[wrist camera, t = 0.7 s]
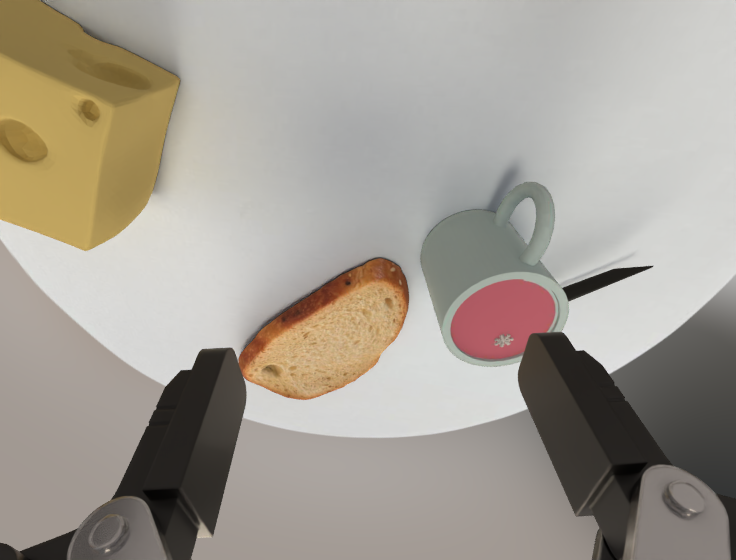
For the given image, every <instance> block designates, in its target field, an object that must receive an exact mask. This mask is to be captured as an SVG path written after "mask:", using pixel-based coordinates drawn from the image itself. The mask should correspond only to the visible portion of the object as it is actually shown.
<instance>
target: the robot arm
mask: <svg viewBox="0 0 736 560" xmlns="http://www.w3.org/2000/svg"><path fill="white" fill-rule="evenodd" d="M518 383H519V387H520V391H521V393H522V396H523V398H524V400H525V402H526V405H527V407H528V409H529V412H530V414H531V416H532V418H533V421H534V423H535V425H536V427H537V429H538V432H539V434H540V436H541V439H542V441H543V443H544V445H545V447H546V450H547V452H548V454H549V457H550V459H551V461H552V464H553V466H554V468H555V470H556V473H557V475H558V477H559V479H560V482H561V484H562V486H563V488H564V491H565V493H566V495H567V497H568V500H569V502H570V504H571V506H572V509H573V511H574V513H575V516H591V515H594V517H595V519H596V521H597V523H598V526H599V529H598V531H597V534H596V539H595V544H594V550H593V555H592V560H736V499H735V498H731V497H727V496H723V495H720V494H716V493H714V492H713V491H712V489H710V488H709V487H708V486H707V485H706V484H705V483H704V482H703V481H701V480H700V479H699V478H697V477H696V476H694V475H693V474H691V473H689V472H687V471H685V470H683V469H680V468H678V467H674V466H673V465H672V464H671V463H670V461H669V460H668V459H667V458H666V456H665V455H664V453H663V452H662V450H661V449H660V447H659V446H658V445H657V443H656V442H655V440H654V439H653V437H652V436H651V435H650V433H649V432H648V430H647V429H646V427H645V426H644V424H643V423H642V422H641V420H640V419H639V417H638V416H637V415H636V413H635V412H634V410H633V409H632V407H631V406H630V404H629V403H628V402H627V401H625V399H624V398H625V397H624V396H623V394H622V393H621V392H620V390H619V389H618V387H617V386H615V385H614V381H613V380H612V378H611V377H610V376H609V374H608V373H607V371H606V370H605V368H604V367H603V366H602V365H601V364H600V363H599V362H598V361H596V360H595V359H594V358H593V357H591V356H590V355H589V354H588V353H587V352H585V351H584V350H582V351H576V350H575V349H574V347H573V346H572V344H571V342H570V341H569V339H568V338H567V336H566V335H565V334H564V333H562V332H546V333H532V334H531V335H530V336H529V338H528V341H527V344H526V348H525V351H524V354H523V357H522V360H521V363H520V367H519V370H518ZM245 405H246V385H245V381H244V378H243V375H242V372H241V369H240V366H239V363H238V361H237V358H236V355H235V352H234V350H233V349H232V348H214V349H202V350H201V351H200V352H199V354H198V356H197V358H196V361H195V363H194V365H193V368H192V370H181V371H180V372H179V373H178V374H177V375H176V376H175V377H174V378H173V379H172V381H171V382H170V383H169V384H168V385H167V386H166V387H165V389H164V391H163V393H162V395H161V398H160V400H159V402H158V404H157V406H156V407H157V409H156V410H155V411H154V412H153V415H152V417H151V419H150V421H149V426H147V427H146V430H145V432H144V434H143V436H142V438H141V440H140V442H139V445H138V447H137V449H136V451H135V453H134V455H133V458H132V460H131V462H130V464H129V466H128V468H127V470H126V473H125V475H124V477H123V479H122V481H121V483H120V485H119V488H118V489H117V491H116V493H115V495H114V496H113V498H112V499H111V500H110V501H108V502H107V503H105V504H103V505H102V506H100V507H99V508H97V509H96V510H95V511H93V512H92V513H91V514H90V515H89V516H88V517H87V518H86V519H85V520H84V521H83V523H82V524H81V525H80V526H79V528H77V529H76V530H73V531H71V532H69V533H66V534H64V535H61V536H59V537H56V538H54V539H51V540H48V541H46V542H43V543H40V544H38V545H35V546H33V547H30V548H28V549H25V550H22V551H20V552H19V551H17V550H16V549H14V548H13V547H11V546H9V545H7V544H3V543H0V560H192V559H191V556H192V552H193V549H194V545H195V541H196V538H204V537H213V534H214V530H215V526H216V522H217V518H218V514H219V510H220V506H221V502H222V498H223V494H224V490H225V485H226V481H227V478H228V474H229V469H230V465H231V462H232V458H233V454H234V449H235V445H236V441H237V437H238V433H239V429H240V425H241V421H242V417H243V413H244V409H245Z"/></svg>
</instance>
